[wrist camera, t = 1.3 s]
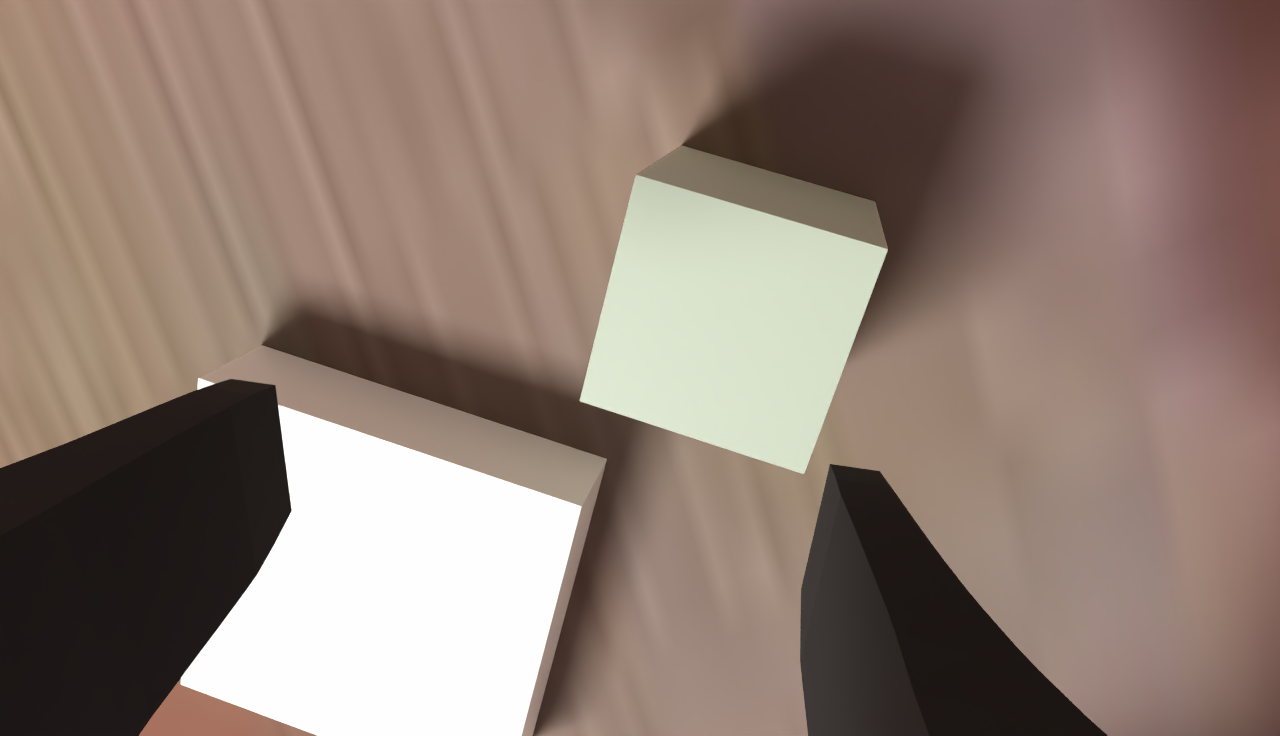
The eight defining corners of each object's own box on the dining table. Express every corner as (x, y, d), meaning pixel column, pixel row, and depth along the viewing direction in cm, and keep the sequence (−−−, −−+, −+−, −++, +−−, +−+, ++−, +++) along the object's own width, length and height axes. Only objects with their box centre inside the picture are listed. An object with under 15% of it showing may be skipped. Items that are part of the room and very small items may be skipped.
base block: (611, 452, 23) (581, 506, 20) (536, 727, 27) (503, 804, 24) (270, 340, 24) (198, 378, 21) (244, 621, 28) (180, 684, 25)
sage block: (874, 201, 19) (887, 249, 15) (810, 381, 21) (804, 473, 16) (681, 144, 20) (635, 174, 15) (633, 325, 22) (579, 401, 17)
